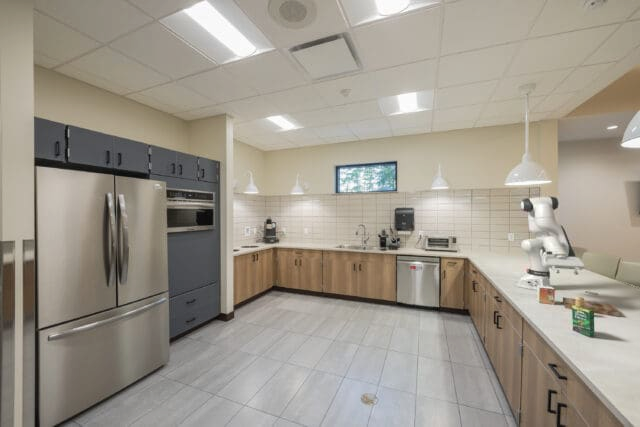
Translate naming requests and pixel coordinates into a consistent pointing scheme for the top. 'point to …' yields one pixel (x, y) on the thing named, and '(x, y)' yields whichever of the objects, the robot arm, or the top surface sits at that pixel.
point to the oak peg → (579, 301)
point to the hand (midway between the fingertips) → (567, 273)
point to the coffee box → (583, 320)
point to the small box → (546, 295)
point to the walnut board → (594, 307)
